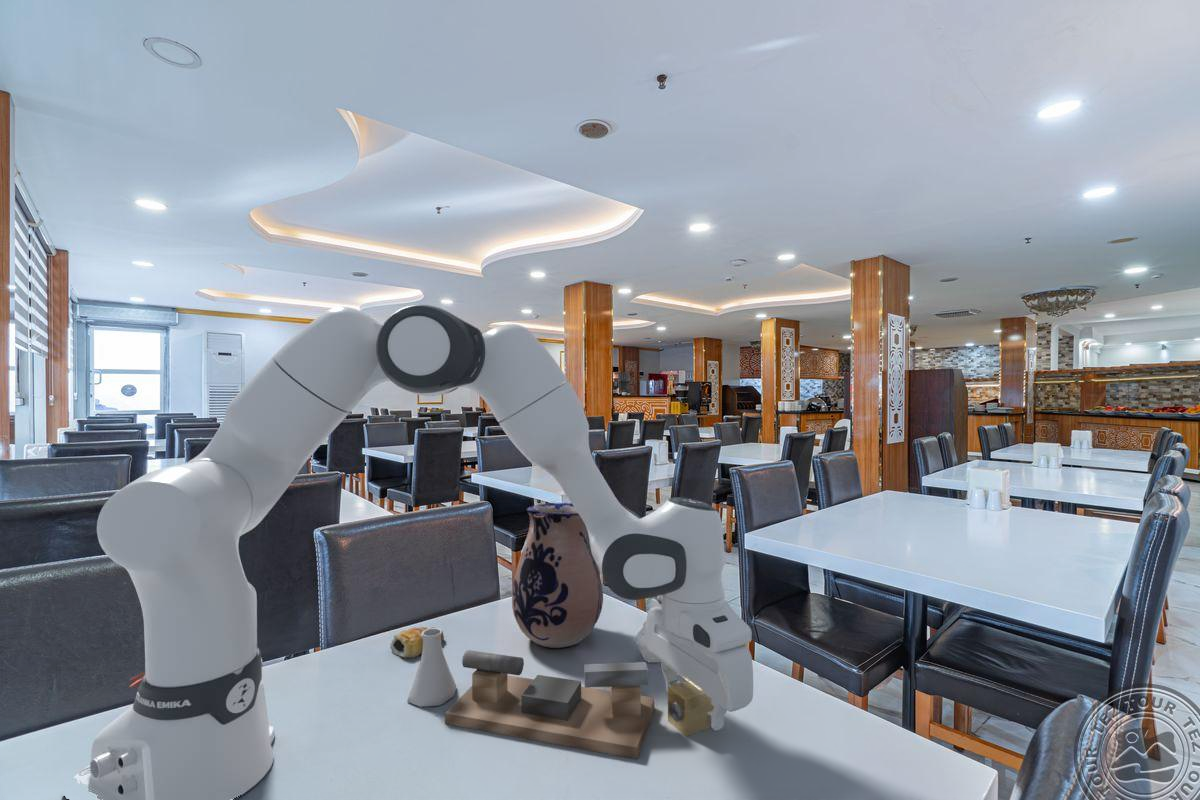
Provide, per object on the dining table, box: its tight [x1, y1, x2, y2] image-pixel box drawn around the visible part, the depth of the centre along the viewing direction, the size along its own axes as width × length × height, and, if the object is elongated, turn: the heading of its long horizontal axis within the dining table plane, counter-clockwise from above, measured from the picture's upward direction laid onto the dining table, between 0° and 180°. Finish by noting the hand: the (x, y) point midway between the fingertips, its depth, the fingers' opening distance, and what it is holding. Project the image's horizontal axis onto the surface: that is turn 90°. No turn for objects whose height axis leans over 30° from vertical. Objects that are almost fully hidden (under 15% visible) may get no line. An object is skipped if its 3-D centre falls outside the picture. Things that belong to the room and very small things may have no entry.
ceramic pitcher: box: [511, 502, 604, 649], centre depth 107 cm, size 18×21×25 cm
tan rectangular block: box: [667, 680, 714, 737], centre depth 78 cm, size 7×4×5 cm, turn 119°
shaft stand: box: [444, 649, 655, 760], centre depth 80 cm, size 28×12×8 cm, turn 74°
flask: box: [407, 627, 457, 708], centre depth 85 cm, size 7×7×10 cm
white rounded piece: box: [635, 620, 660, 663], centre depth 97 cm, size 6×6×7 cm
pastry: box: [389, 626, 445, 659], centre depth 102 cm, size 9×7×4 cm
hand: (693, 709), depth 78 cm, fingers open, 8 cm apart
